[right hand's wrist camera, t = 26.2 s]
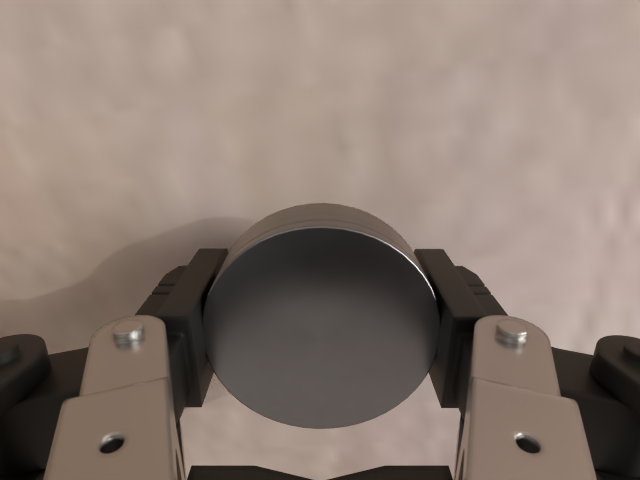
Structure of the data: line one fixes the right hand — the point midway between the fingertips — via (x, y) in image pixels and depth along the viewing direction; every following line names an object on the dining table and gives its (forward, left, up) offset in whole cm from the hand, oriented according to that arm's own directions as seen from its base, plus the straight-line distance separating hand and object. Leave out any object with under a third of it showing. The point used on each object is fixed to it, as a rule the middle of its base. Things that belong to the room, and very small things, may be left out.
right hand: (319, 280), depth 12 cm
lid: (0, 0, +3) cm, 3 cm away
